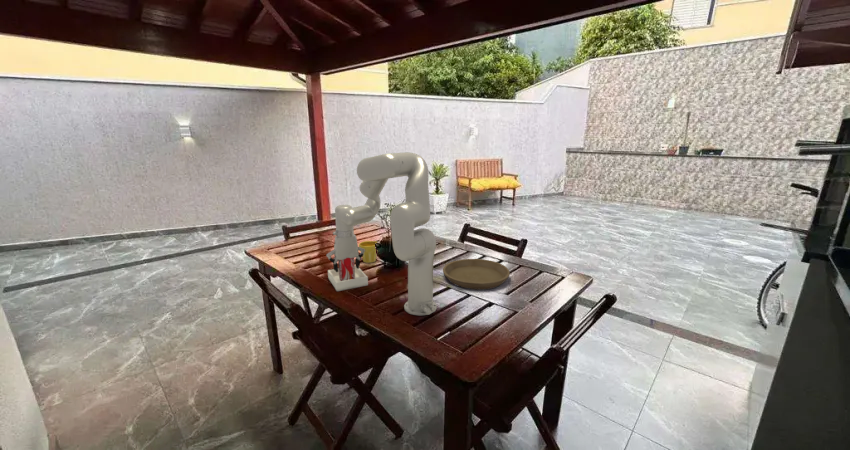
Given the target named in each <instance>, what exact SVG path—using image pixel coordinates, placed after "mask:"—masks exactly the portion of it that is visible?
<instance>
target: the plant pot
mask: <svg viewBox="0 0 850 450" xmlns="http://www.w3.org/2000/svg"><path fill="white" fill-rule="evenodd" d="M377 242H378V241H373V240H365V241H361V242H359V243H358V247H360V248H363V249H365V252H364V254H363V256H362V257H361V258H362V261H363V263H367V264H371V263H375V262H376V261H377V255H378V253H377V254H376V249H375V243H377Z"/></svg>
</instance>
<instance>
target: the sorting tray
mask: <svg viewBox="0 0 850 450" xmlns="http://www.w3.org/2000/svg"><path fill="white" fill-rule="evenodd" d="M327 276H328V277H327V279H328V280H329V282H330V284H332V286H333V288H334V289H335V291H336V292H341V291H345V290H350V289H356V288H360V287H361V288H362V287H366V286H369V277H368V275H367V274H366V273H365V272H364V271H363V270H362V269H361V268H360V267H359V269H358V268H357V267H356V265H355V279H350V280H344V281H341V280H340V278H339V268H338V272H336V271H335V270H334V268H332V269H328V270H327Z"/></svg>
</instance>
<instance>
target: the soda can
mask: <svg viewBox="0 0 850 450" xmlns="http://www.w3.org/2000/svg"><path fill="white" fill-rule="evenodd" d="M337 264H338V269H339V278H340V280H341V281H344V280H350V279H355V266H356V264H355V258H350V257H346V259H343V260H338V262H337Z"/></svg>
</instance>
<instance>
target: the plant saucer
mask: <svg viewBox="0 0 850 450" xmlns="http://www.w3.org/2000/svg"><path fill="white" fill-rule="evenodd" d="M442 272H443V273H442V274H444V276H445V278H446V279H447V280H448V281H449V280H450V281H451V284H453V283H454V284H453V285H455V284H456V286H457V285H458V286H457V287H460V286H461V287H460V288H464V289H469V288H470V289H469V290H489V289H490V290H491V289H494V288H498V287H500V286H501V285H502V284H504V283H505V282H506V281H507V280H508V279H509V278H510V274H511V273H510V269H508V267H507V266H505V265H504V264H502V263H499V262H497V261H493V260H489V259H483V258H463V259H457V260H453V261H451V262H448V263H447V264H445V265H444V266H443V267H442ZM450 281H449V282H450Z"/></svg>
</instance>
